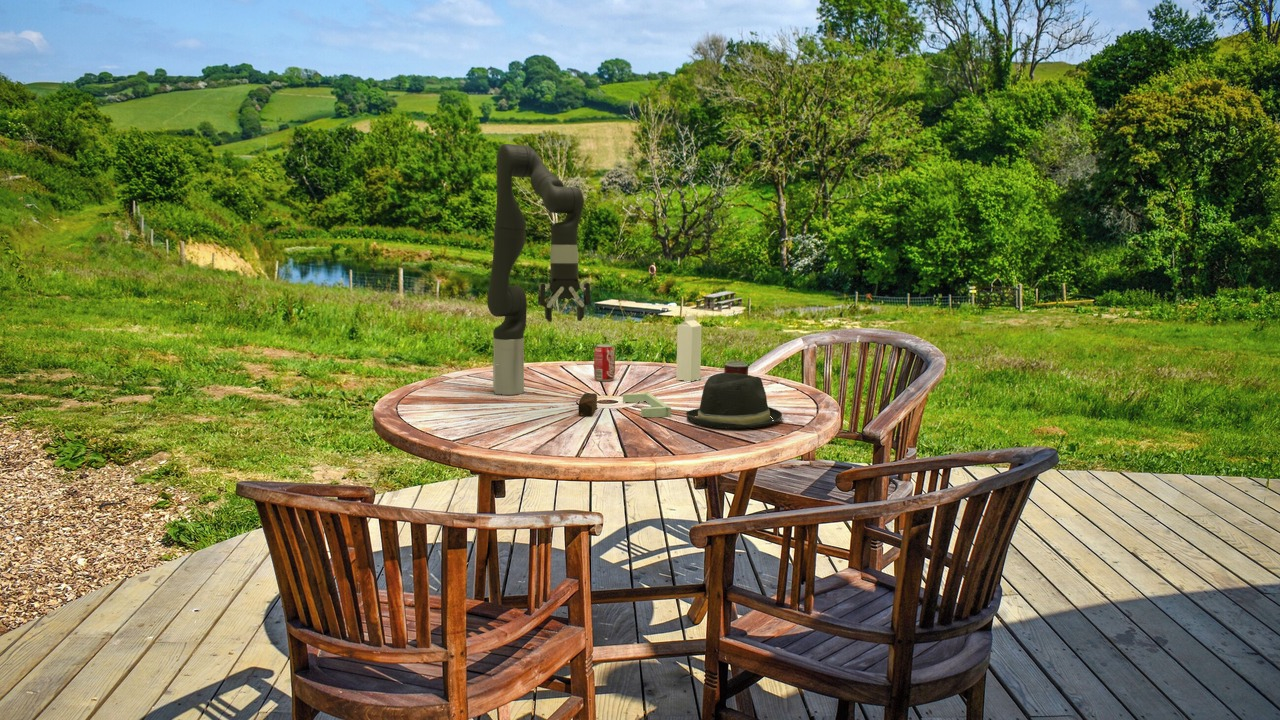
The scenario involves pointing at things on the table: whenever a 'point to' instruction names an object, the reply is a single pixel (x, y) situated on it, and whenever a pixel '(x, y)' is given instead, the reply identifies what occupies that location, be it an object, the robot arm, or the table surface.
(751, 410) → the fedora
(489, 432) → the table surface
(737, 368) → the soda can
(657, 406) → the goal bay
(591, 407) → the brick
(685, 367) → the milk
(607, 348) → the soda can
